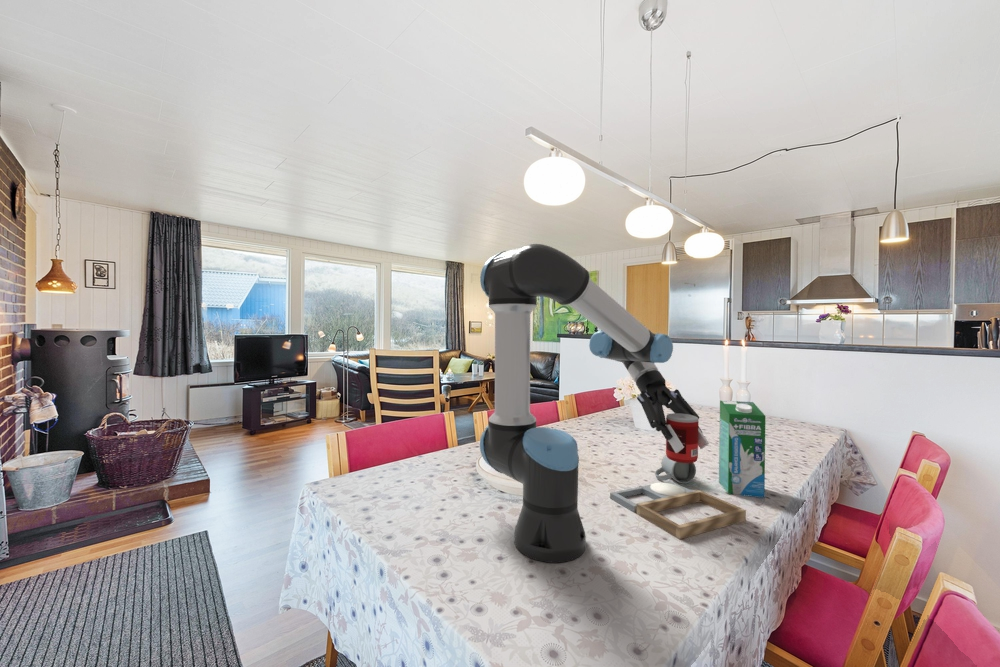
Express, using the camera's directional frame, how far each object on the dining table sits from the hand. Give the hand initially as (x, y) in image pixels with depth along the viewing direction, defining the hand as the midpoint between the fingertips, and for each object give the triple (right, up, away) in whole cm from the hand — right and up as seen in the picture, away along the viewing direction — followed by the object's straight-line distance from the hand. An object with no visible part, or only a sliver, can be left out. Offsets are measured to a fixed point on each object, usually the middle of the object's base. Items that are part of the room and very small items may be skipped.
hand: (692, 448), depth 100 cm
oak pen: (-2, -16, -3) cm, 16 cm away
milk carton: (+21, -16, +14) cm, 30 cm away
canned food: (-1, -4, +3) cm, 5 cm away
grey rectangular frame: (-7, -16, +8) cm, 19 cm away
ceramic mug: (+5, -16, +22) cm, 28 cm away
